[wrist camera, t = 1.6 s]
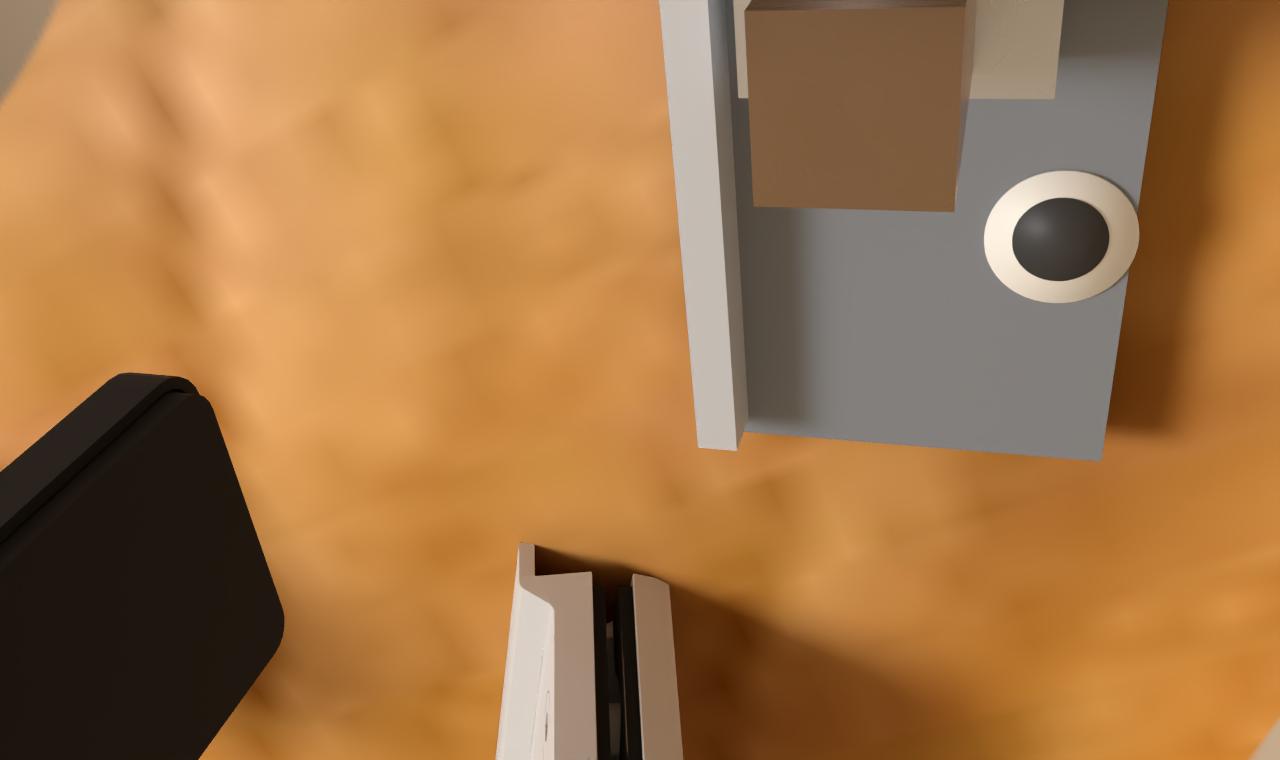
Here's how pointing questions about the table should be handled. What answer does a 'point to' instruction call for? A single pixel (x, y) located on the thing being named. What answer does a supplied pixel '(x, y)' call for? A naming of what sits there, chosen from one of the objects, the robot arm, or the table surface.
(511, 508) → the table surface
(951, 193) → the trammel slider
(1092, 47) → the gauge board
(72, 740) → the robot arm
